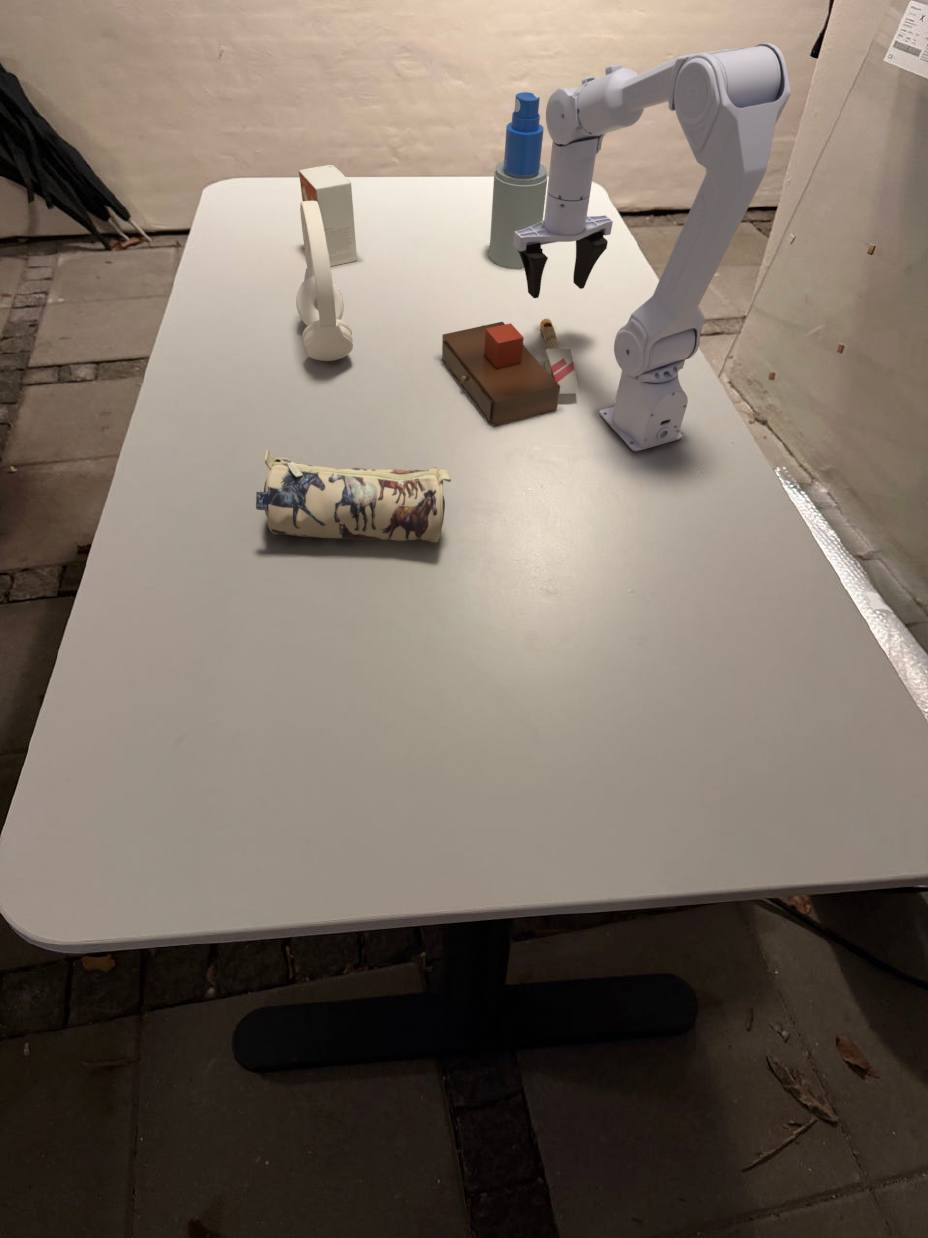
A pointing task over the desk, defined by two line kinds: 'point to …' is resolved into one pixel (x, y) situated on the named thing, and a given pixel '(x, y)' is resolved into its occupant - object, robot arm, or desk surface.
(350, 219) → the small box
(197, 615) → the desk surface
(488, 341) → the block
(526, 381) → the cabinet
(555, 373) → the paintbrush
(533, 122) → the spray bottle
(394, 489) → the pencil case
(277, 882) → the desk surface
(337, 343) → the headphones
